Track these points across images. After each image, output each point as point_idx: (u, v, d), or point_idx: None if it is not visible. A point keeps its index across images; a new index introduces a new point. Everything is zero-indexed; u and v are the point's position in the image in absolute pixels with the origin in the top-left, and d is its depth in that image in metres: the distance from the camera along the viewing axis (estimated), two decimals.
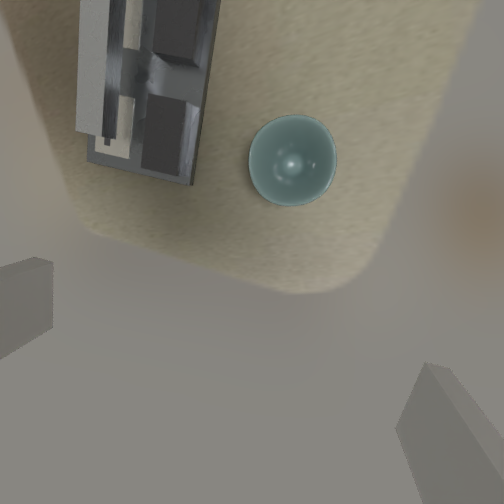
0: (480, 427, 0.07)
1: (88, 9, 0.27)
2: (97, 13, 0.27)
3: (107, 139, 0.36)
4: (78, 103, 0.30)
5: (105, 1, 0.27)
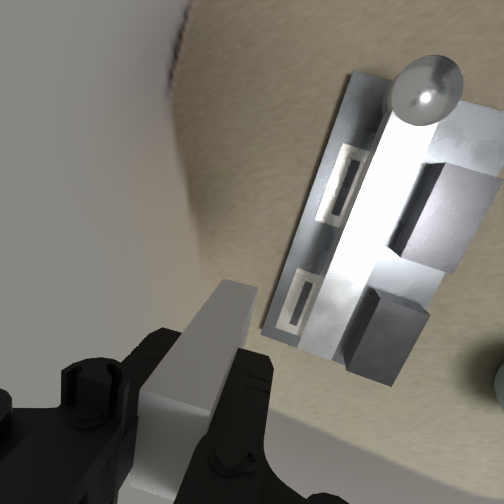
0: (236, 310, 0.10)
1: (358, 229, 0.21)
2: (369, 235, 0.21)
3: (295, 318, 0.30)
4: (310, 322, 0.24)
5: (386, 225, 0.21)
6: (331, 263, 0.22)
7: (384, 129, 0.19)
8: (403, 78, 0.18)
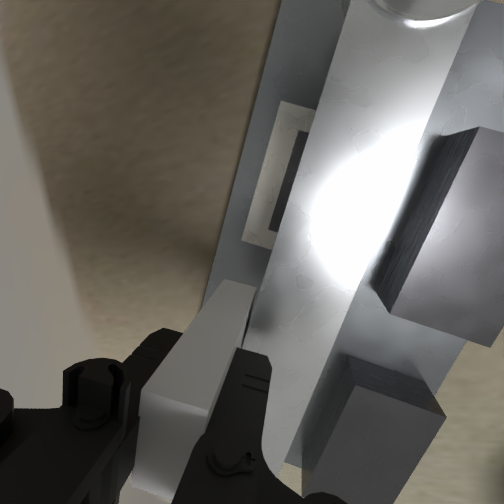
0: (235, 310, 0.10)
1: (293, 271, 0.10)
2: (319, 285, 0.10)
3: None
4: None
5: (354, 263, 0.09)
6: (245, 339, 0.11)
7: (340, 36, 0.08)
8: None
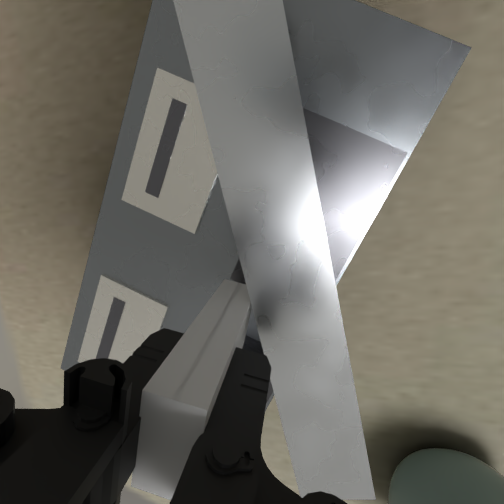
0: (234, 310, 0.10)
1: (262, 246, 0.10)
2: (291, 245, 0.10)
3: (103, 352, 0.19)
4: (293, 447, 0.12)
5: (309, 209, 0.09)
6: (259, 330, 0.11)
7: None
8: None
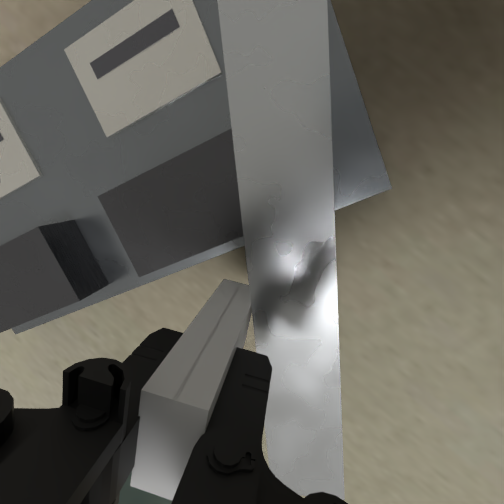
0: (235, 310, 0.10)
1: (270, 241, 0.10)
2: (299, 245, 0.10)
3: None
4: (271, 441, 0.12)
5: (322, 210, 0.09)
6: (255, 324, 0.11)
7: (220, 13, 0.08)
8: None
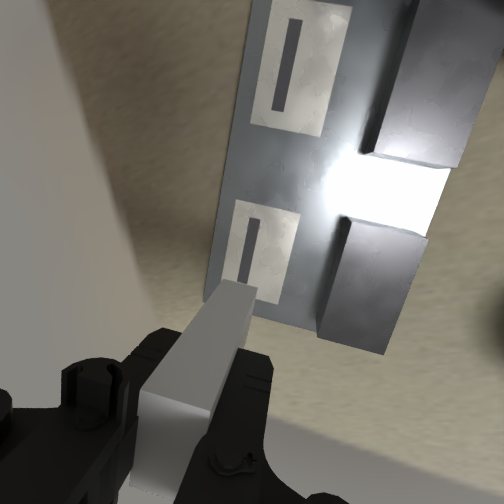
0: (236, 310, 0.10)
1: None
2: None
3: (244, 274, 0.22)
4: None
5: None
6: None
7: None
8: None
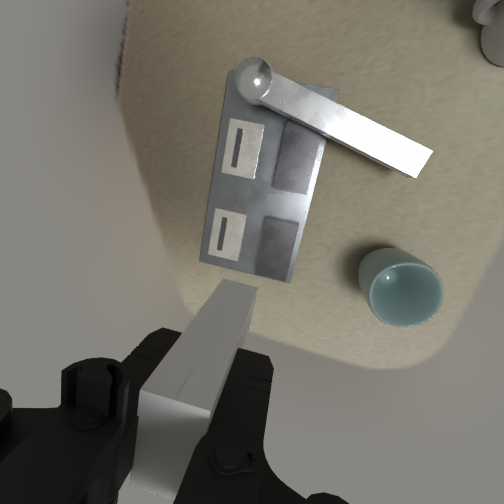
0: (236, 310, 0.10)
1: (328, 123, 0.31)
2: (334, 115, 0.31)
3: (220, 245, 0.43)
4: (394, 164, 0.31)
5: (329, 104, 0.31)
6: (349, 144, 0.32)
7: (268, 104, 0.32)
8: (243, 92, 0.32)
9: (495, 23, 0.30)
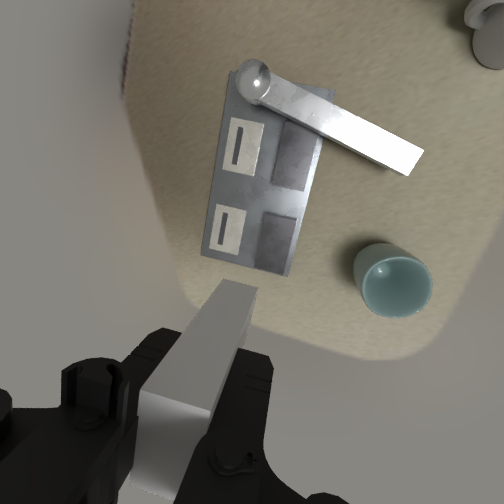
0: (236, 310, 0.10)
1: (324, 123, 0.33)
2: (330, 115, 0.33)
3: (220, 240, 0.44)
4: (387, 162, 0.33)
5: (325, 104, 0.32)
6: (344, 143, 0.33)
7: (267, 104, 0.33)
8: (243, 93, 0.33)
9: (485, 27, 0.32)
